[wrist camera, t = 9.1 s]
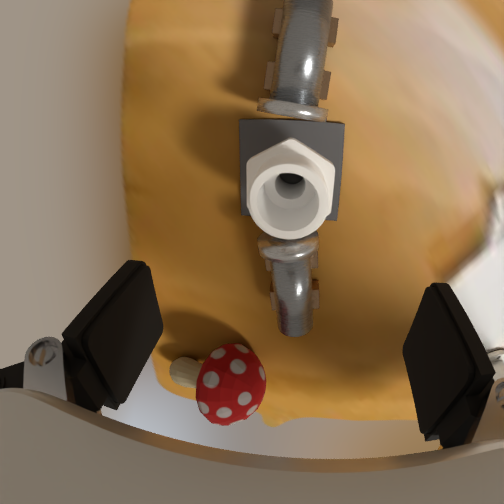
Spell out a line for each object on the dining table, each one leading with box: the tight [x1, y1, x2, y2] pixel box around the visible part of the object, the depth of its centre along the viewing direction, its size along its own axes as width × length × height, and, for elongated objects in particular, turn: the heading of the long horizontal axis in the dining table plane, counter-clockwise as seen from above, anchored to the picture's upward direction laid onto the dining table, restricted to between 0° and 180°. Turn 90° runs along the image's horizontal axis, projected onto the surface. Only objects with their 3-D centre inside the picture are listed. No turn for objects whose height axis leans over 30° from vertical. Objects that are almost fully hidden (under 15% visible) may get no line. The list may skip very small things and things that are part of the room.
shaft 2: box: [257, 230, 319, 337], centre depth 27 cm, size 10×5×6 cm, turn 9°
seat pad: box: [239, 119, 345, 221], centre depth 25 cm, size 9×9×1 cm
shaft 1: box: [257, 0, 339, 122], centre depth 18 cm, size 10×5×6 cm, turn 173°
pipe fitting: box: [246, 138, 335, 239], centre depth 21 cm, size 6×7×8 cm
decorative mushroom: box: [170, 343, 266, 425], centre depth 35 cm, size 11×11×15 cm
